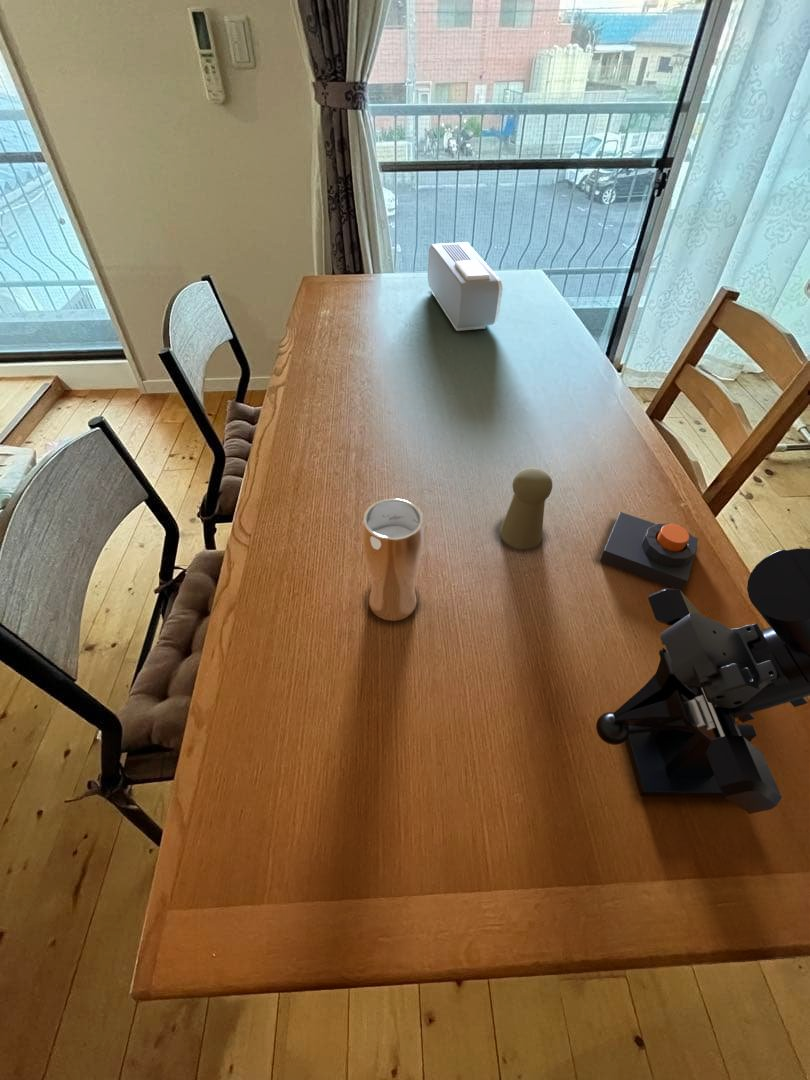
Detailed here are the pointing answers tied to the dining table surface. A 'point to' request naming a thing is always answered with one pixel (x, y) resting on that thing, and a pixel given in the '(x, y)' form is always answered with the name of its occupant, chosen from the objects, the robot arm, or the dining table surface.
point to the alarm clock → (464, 285)
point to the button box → (647, 552)
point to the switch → (618, 729)
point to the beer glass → (393, 556)
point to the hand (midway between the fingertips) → (616, 719)
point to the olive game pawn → (526, 509)
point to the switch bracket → (675, 763)
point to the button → (673, 537)
